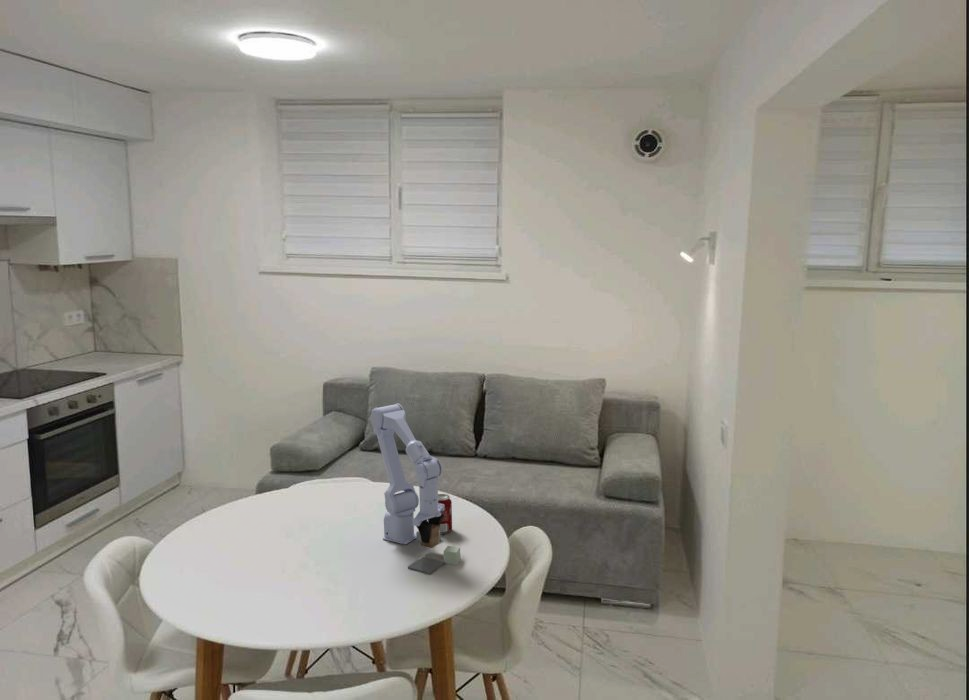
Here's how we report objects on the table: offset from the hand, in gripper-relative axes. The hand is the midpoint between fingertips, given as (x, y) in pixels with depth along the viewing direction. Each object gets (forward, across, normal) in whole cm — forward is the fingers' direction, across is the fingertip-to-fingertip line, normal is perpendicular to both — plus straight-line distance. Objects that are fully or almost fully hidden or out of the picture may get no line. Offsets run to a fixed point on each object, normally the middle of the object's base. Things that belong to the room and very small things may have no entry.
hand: (429, 539), depth 231 cm
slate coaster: (+4, -8, -4) cm, 10 cm away
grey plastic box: (+5, +8, +6) cm, 11 cm away
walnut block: (+2, 0, 0) cm, 2 cm away
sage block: (+4, -2, -9) cm, 10 cm away
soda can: (+5, +16, +6) cm, 18 cm away
